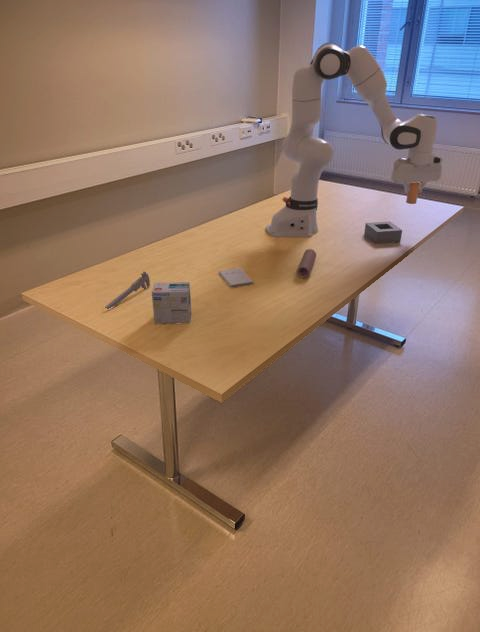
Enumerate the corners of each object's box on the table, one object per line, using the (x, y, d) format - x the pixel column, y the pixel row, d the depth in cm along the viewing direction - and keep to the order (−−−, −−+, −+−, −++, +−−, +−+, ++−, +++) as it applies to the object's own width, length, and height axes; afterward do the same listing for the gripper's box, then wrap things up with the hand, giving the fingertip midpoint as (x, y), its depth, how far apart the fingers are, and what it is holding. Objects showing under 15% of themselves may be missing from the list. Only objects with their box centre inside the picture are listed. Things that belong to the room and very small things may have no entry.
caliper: (147, 287, 169) (146, 269, 166) (150, 288, 169) (148, 270, 165) (102, 312, 154) (100, 293, 151) (105, 313, 153) (102, 294, 150)
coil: (310, 268, 172) (317, 249, 188) (297, 265, 173) (305, 247, 188) (308, 280, 175) (315, 261, 190) (295, 277, 176) (303, 258, 191)
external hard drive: (230, 289, 169) (218, 274, 179) (253, 285, 171) (240, 271, 181) (230, 285, 168) (218, 270, 178) (253, 281, 170) (240, 267, 181)
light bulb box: (191, 313, 153) (190, 281, 148) (190, 324, 147) (189, 291, 142) (156, 313, 153) (153, 281, 147) (154, 324, 147) (150, 291, 142)
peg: (409, 204, 205) (412, 184, 202) (404, 201, 209) (407, 182, 205) (418, 203, 206) (421, 184, 202) (413, 200, 210) (416, 181, 206)
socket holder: (375, 243, 205) (377, 231, 202) (364, 234, 214) (365, 223, 212) (400, 241, 207) (402, 230, 204) (388, 232, 216) (389, 221, 214)
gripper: (398, 160, 194) (393, 195, 201) (446, 158, 198) (439, 193, 205) (391, 157, 200) (385, 191, 206) (437, 155, 203) (431, 189, 210)
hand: (412, 192), depth 206 cm, fingers closed on peg, 4 cm apart
